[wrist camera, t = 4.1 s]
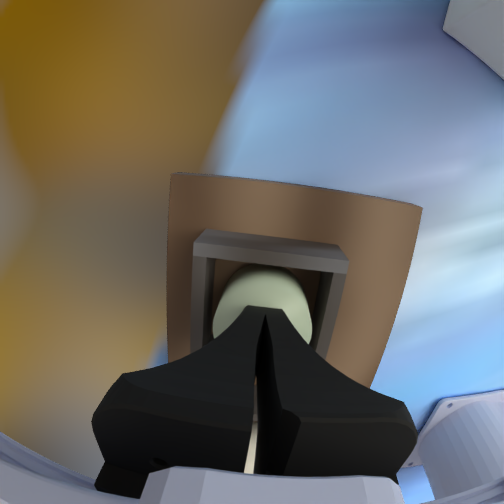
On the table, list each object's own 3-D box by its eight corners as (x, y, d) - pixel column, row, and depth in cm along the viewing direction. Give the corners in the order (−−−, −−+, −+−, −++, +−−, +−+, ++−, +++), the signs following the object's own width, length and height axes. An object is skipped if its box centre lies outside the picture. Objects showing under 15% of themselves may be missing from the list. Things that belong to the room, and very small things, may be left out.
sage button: (312, 267, 13) (320, 292, 10) (298, 341, 14) (301, 374, 11) (225, 257, 13) (215, 279, 11) (220, 331, 14) (210, 363, 12)
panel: (411, 203, 13) (446, 217, 10) (305, 499, 21) (306, 529, 18) (179, 172, 14) (152, 176, 10) (184, 487, 21) (176, 516, 18)
